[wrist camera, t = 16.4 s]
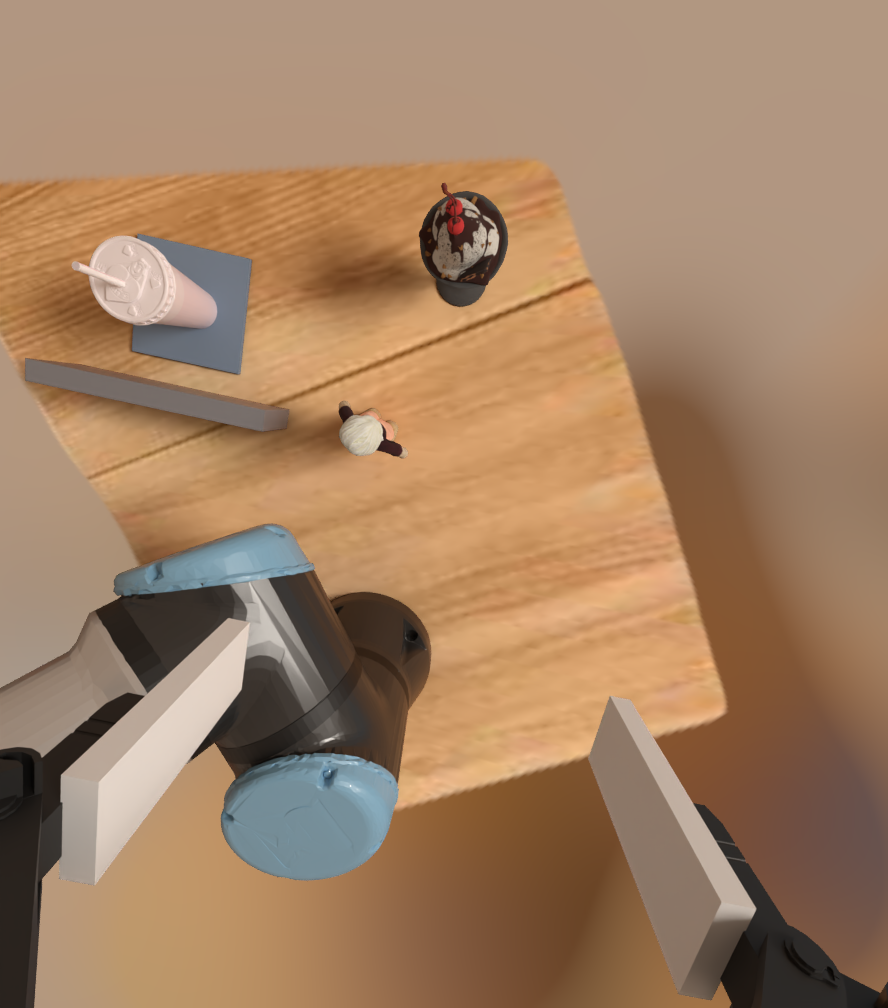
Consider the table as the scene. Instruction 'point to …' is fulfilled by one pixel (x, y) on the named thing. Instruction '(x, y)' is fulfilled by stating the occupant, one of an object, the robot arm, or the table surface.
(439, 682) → the table surface
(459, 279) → the sundae
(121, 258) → the smoothie
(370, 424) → the grandmother figurine
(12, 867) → the robot arm
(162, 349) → the mat
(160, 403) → the divider wall
